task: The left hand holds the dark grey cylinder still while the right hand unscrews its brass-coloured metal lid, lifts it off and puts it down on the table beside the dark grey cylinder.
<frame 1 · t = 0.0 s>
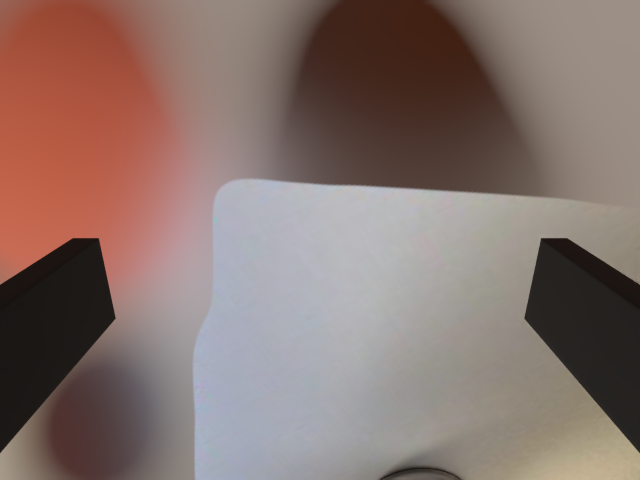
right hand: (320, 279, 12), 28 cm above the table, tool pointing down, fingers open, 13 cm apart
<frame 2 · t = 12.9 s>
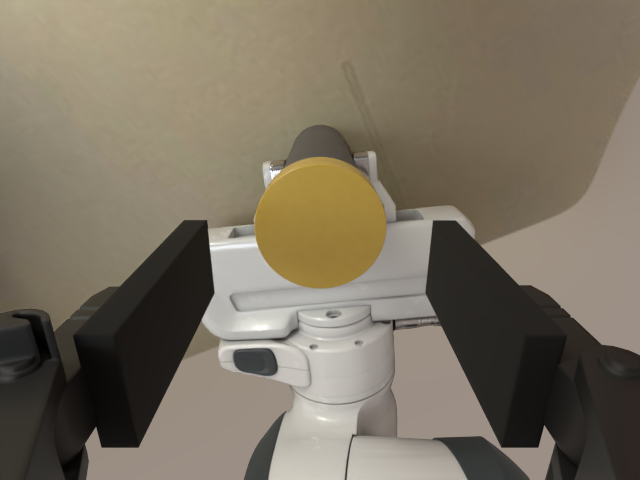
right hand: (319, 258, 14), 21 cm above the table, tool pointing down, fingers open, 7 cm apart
left hand: (318, 157, 27), fingers closed on dark grey cylinder, 4 cm apart
lid: (320, 227, 17), point 18 cm above the table, screwed on, not yet turned
dark grey cylinder: (320, 153, 34), on the table, touching left hand
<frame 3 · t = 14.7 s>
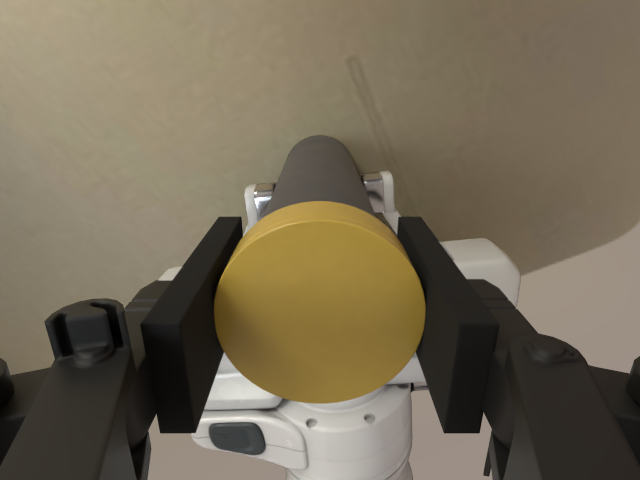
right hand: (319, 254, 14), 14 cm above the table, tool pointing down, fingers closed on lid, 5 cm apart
lid: (319, 313, 11), point 18 cm above the table, screwed on, not yet turned, touching right hand
dark grey cylinder: (319, 170, 27), on the table, touching left hand
when the right hand's fingers open (14 cm above the table, at t = 15.9 s): lid stays where it is, point 18 cm above the table.
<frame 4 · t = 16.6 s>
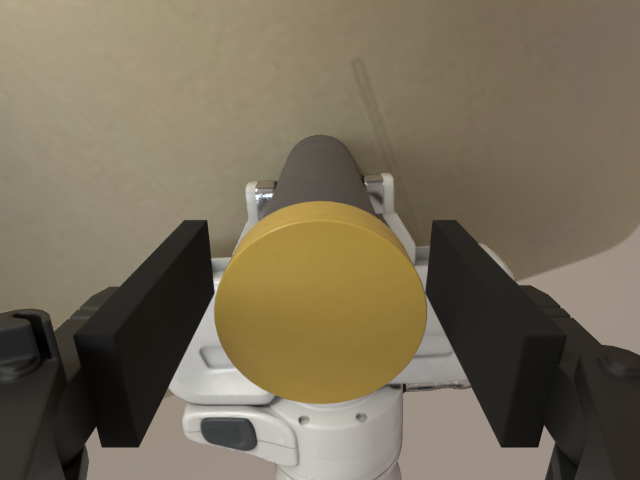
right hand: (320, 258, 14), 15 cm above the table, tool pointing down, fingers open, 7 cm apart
left hand: (318, 179, 21), fingers closed on dark grey cylinder, 4 cm apart
lid: (320, 313, 11), point 18 cm above the table, turned 77° so far, risen 0.2 cm, still on its thread
dark grey cylinder: (320, 169, 27), on the table, touching left hand
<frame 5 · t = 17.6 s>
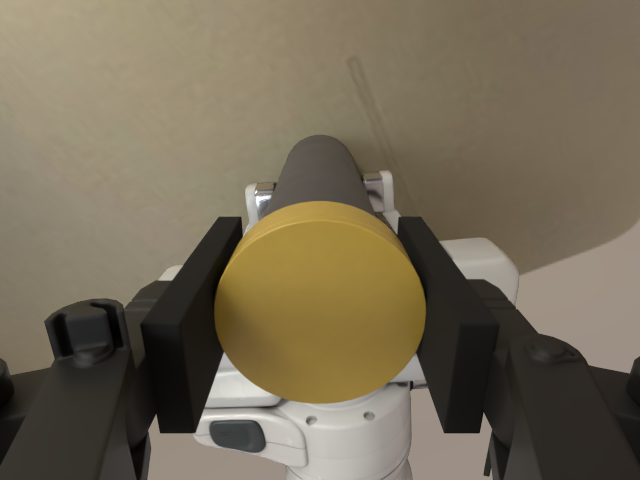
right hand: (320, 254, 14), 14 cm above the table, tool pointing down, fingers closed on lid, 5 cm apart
left hand: (317, 179, 21), fingers closed on dark grey cylinder, 4 cm apart
lid: (320, 313, 11), point 18 cm above the table, turned 77° so far, risen 0.2 cm, still on its thread, touching right hand
dark grey cylinder: (319, 169, 27), on the table, touching left hand
when the right hand's fingers open (0 cm above the table, at t = 22.8 s): lid drops 3 cm, point 1 cm above the table.
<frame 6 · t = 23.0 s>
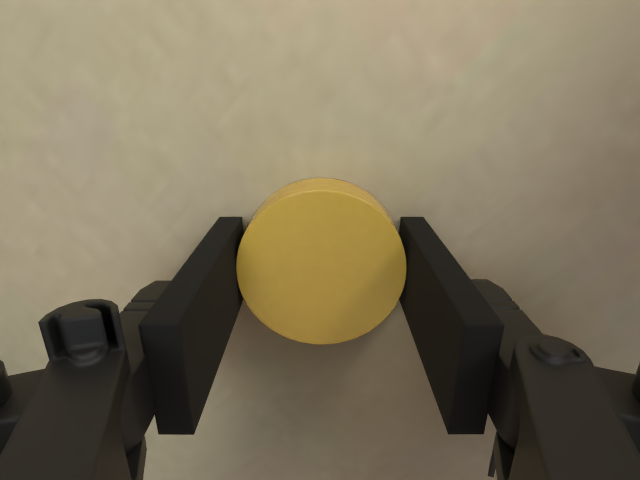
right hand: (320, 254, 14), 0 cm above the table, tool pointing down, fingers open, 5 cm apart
lid: (321, 268, 13), point 1 cm above the table, off its thread, touching right hand
when the left hand's fingers open (7 cm above the table, at t = 24.6 s): dark grey cylinder stays where it is, on the table.
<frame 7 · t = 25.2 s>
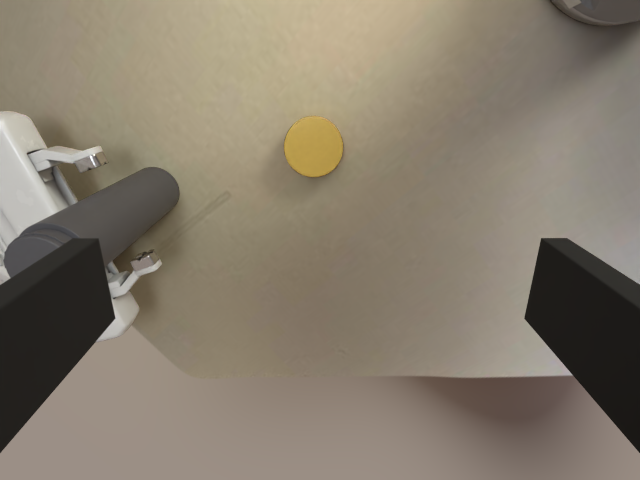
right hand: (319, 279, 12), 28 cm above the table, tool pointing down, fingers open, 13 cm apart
left hand: (130, 209, 34), fingers open, 8 cm apart
lid: (313, 147, 37), point 1 cm above the table, off its thread
dark grey cylinder: (155, 190, 40), on the table
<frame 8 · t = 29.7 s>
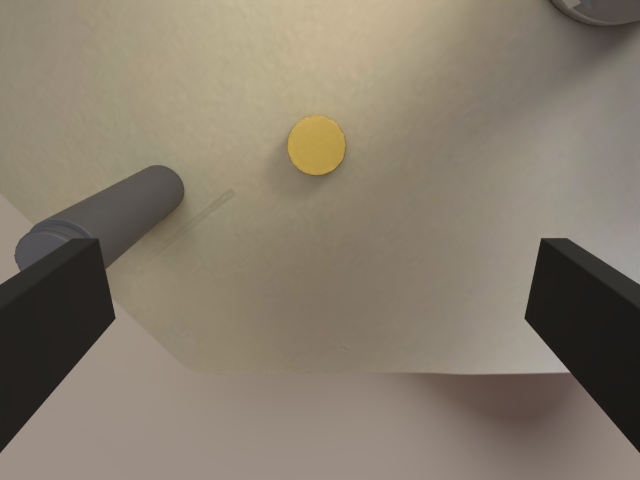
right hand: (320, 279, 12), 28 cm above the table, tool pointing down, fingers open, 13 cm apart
lid: (316, 146, 38), point 1 cm above the table, off its thread
dark grey cylinder: (160, 188, 41), on the table
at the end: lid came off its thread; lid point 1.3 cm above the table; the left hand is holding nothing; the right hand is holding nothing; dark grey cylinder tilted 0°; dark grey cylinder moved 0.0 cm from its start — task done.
